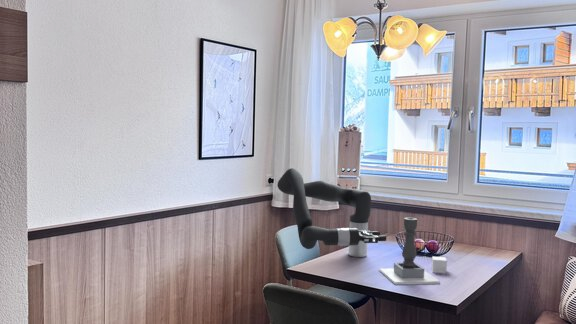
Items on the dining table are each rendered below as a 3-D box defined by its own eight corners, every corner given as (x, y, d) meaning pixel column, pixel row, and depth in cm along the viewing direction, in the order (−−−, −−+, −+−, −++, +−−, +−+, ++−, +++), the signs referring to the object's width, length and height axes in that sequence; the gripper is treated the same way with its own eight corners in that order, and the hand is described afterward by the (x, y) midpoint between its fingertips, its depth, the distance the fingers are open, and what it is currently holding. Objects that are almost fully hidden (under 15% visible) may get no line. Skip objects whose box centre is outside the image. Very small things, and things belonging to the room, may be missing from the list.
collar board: (379, 270, 238) (379, 260, 238) (420, 270, 241) (421, 259, 241) (394, 284, 218) (395, 272, 218) (439, 283, 221) (440, 272, 221)
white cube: (432, 272, 238) (433, 259, 238) (431, 269, 244) (432, 256, 243) (446, 273, 237) (446, 260, 236) (445, 270, 243) (445, 257, 242)
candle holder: (405, 277, 226) (407, 220, 224) (398, 273, 232) (400, 217, 230) (418, 276, 227) (420, 219, 225) (410, 272, 233) (413, 217, 231)
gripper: (351, 231, 217) (388, 231, 220) (342, 224, 231) (377, 224, 234) (351, 249, 218) (388, 248, 221) (342, 241, 232) (377, 240, 235)
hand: (382, 236), depth 227 cm, fingers open, 8 cm apart
